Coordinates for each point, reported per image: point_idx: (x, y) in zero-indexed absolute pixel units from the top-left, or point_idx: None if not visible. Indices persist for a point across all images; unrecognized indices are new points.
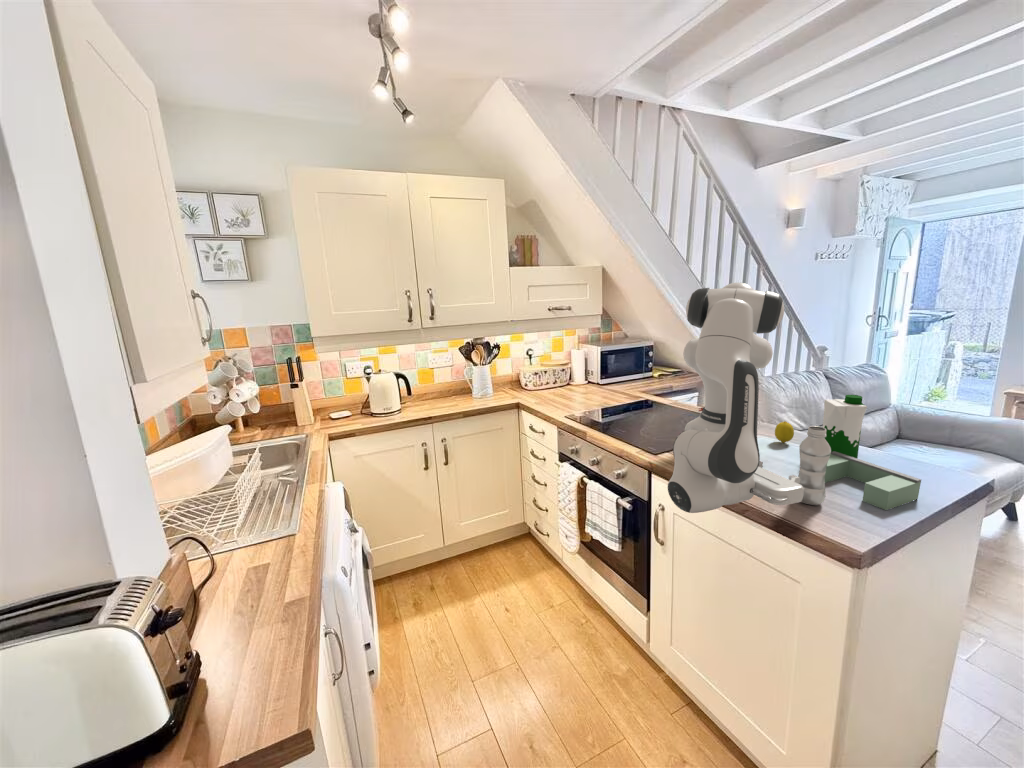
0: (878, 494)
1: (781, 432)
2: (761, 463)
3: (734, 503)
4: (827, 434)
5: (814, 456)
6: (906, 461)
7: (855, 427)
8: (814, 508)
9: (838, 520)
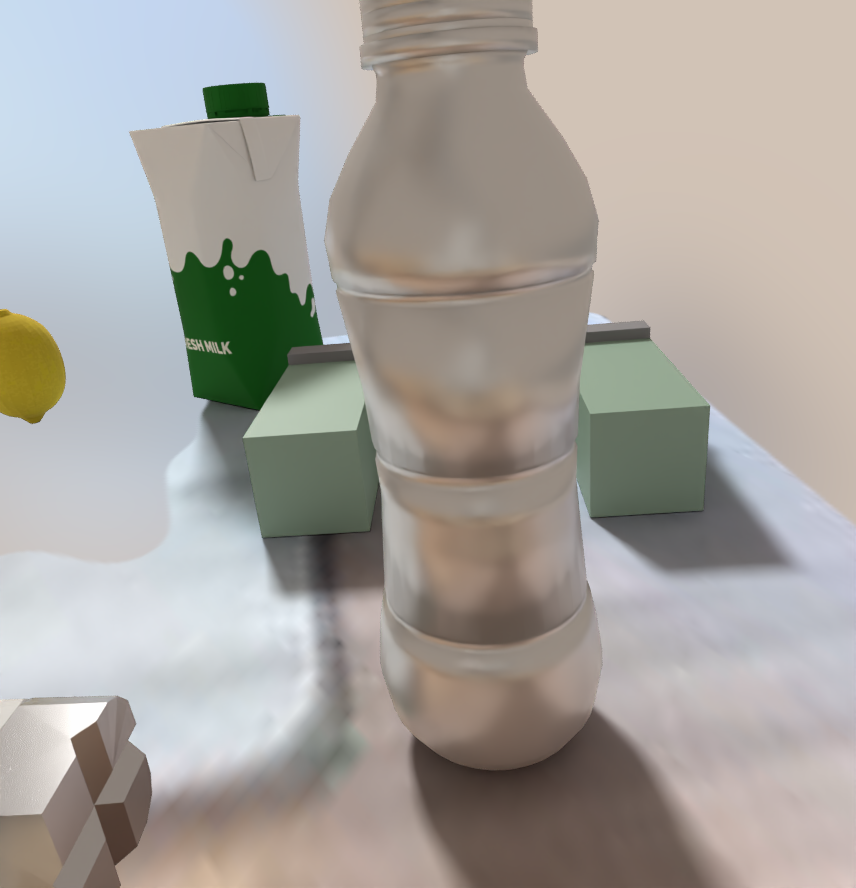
0: (661, 446)
1: (8, 369)
2: (114, 741)
3: None
4: (211, 293)
5: (547, 286)
6: None
7: (295, 224)
8: (592, 757)
9: (799, 755)
